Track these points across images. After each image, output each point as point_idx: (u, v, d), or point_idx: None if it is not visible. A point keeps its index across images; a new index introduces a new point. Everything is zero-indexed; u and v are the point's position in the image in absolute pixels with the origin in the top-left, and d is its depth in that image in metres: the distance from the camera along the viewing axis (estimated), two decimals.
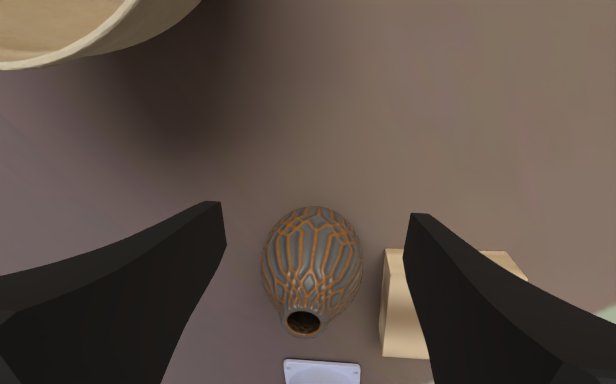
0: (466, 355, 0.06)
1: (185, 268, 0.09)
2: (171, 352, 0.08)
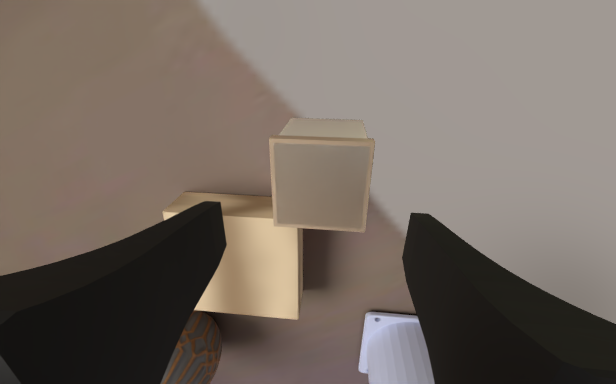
0: (466, 355, 0.06)
1: (185, 268, 0.09)
2: (171, 352, 0.08)
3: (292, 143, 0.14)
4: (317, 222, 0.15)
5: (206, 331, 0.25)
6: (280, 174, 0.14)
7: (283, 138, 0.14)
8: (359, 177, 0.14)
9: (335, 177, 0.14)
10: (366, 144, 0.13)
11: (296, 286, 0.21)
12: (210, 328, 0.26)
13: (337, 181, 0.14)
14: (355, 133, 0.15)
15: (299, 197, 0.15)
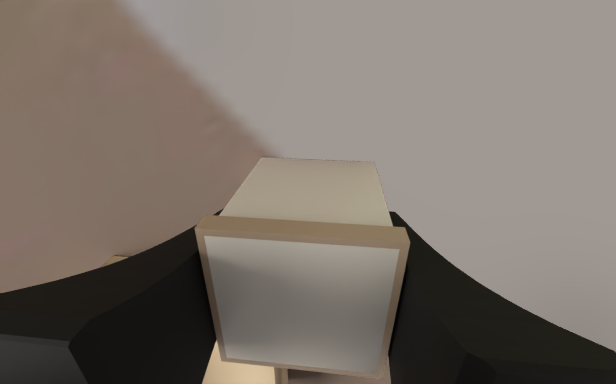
0: (410, 349, 0.06)
1: None
2: (209, 355, 0.08)
3: (241, 238, 0.07)
4: (297, 360, 0.09)
5: None
6: (223, 287, 0.07)
7: (223, 227, 0.07)
8: (375, 299, 0.07)
9: (328, 297, 0.07)
10: (392, 245, 0.06)
11: None
12: None
13: (332, 304, 0.07)
14: (366, 201, 0.08)
15: (262, 323, 0.08)
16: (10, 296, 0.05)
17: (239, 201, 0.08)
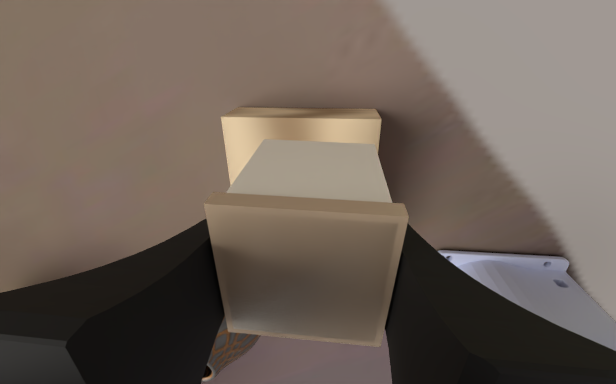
0: (411, 350, 0.06)
1: None
2: (207, 356, 0.08)
3: (248, 213, 0.07)
4: (300, 330, 0.09)
5: None
6: (231, 261, 0.08)
7: (231, 203, 0.07)
8: (375, 271, 0.08)
9: (331, 270, 0.08)
10: (391, 220, 0.07)
11: None
12: None
13: (334, 275, 0.08)
14: (366, 180, 0.09)
15: (267, 295, 0.08)
16: (8, 296, 0.05)
17: (244, 180, 0.09)
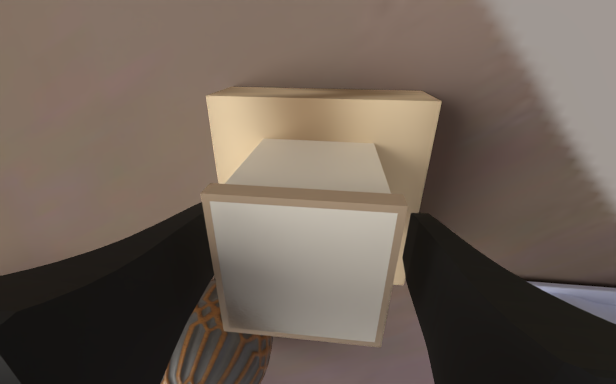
0: (466, 355, 0.06)
1: (185, 268, 0.09)
2: (171, 351, 0.08)
3: (245, 203, 0.07)
4: (298, 329, 0.09)
5: None
6: (227, 254, 0.08)
7: (228, 193, 0.07)
8: (374, 265, 0.07)
9: (329, 263, 0.08)
10: (390, 209, 0.07)
11: None
12: None
13: (332, 269, 0.08)
14: (365, 174, 0.09)
15: (264, 291, 0.08)
16: None
17: (242, 174, 0.09)
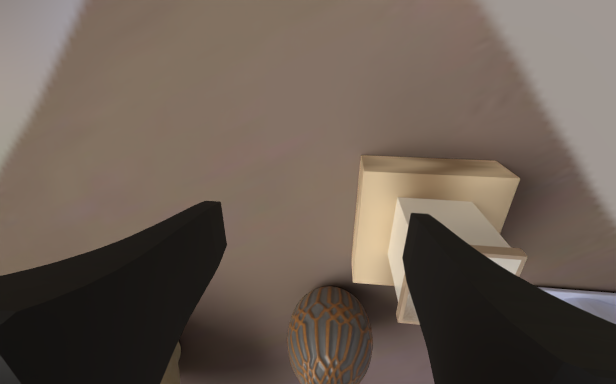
0: (466, 355, 0.06)
1: (185, 268, 0.09)
2: (171, 352, 0.08)
3: None
4: None
5: (360, 308, 0.23)
6: None
7: None
8: None
9: None
10: (518, 258, 0.13)
11: None
12: (361, 305, 0.24)
13: None
14: (486, 231, 0.15)
15: None
16: None
17: None
